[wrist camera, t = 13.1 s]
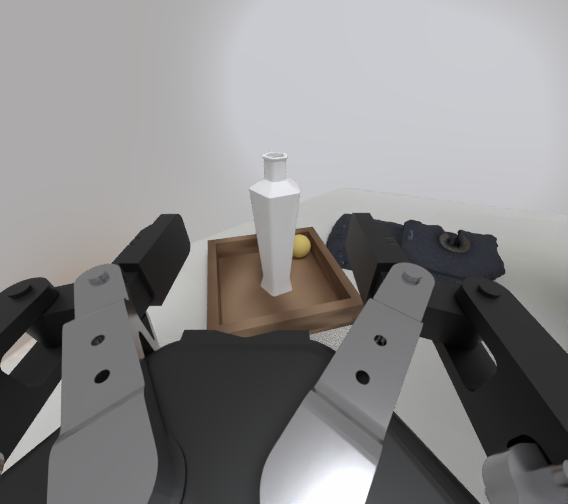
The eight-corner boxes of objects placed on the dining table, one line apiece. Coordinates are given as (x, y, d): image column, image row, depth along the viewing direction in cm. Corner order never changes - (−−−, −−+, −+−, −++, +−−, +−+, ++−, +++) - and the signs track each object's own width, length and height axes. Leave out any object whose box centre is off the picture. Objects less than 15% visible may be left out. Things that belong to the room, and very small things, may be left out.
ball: (305, 247, 34) (307, 228, 32) (313, 260, 32) (315, 241, 30) (284, 250, 34) (284, 231, 32) (290, 264, 31) (291, 244, 29)
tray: (310, 243, 36) (312, 226, 34) (359, 322, 24) (365, 303, 23) (211, 258, 33) (207, 240, 31) (213, 356, 21) (207, 337, 20)
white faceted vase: (304, 284, 28) (315, 155, 19) (277, 303, 26) (275, 166, 17) (279, 266, 31) (278, 145, 22) (252, 282, 28) (239, 153, 19)
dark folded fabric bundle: (340, 218, 44) (344, 194, 41) (477, 246, 37) (493, 220, 34) (315, 266, 33) (318, 238, 30) (505, 320, 26) (533, 290, 23)
